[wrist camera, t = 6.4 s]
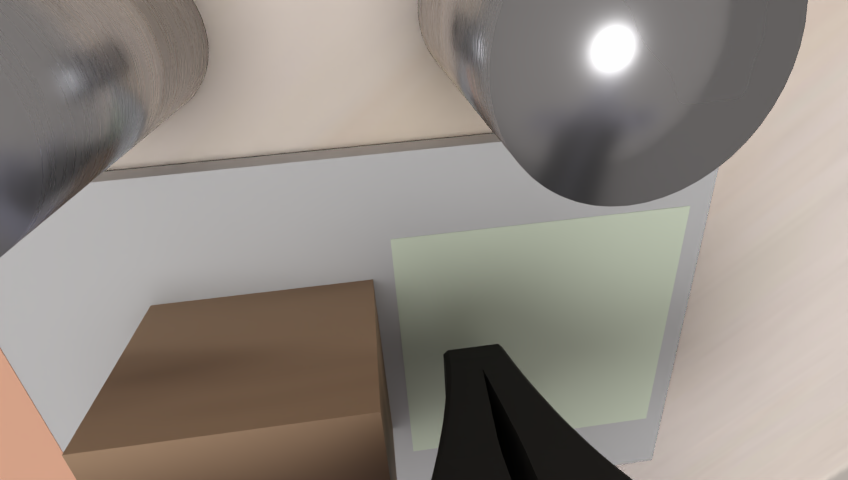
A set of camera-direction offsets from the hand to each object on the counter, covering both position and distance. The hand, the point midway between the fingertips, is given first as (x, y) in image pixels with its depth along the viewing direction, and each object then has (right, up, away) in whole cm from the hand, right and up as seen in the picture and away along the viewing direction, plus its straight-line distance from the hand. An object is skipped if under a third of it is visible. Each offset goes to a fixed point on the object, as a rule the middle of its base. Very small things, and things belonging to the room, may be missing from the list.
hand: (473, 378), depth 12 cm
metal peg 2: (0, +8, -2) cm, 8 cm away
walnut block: (-5, 0, +1) cm, 5 cm away
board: (-6, 0, +1) cm, 6 cm away
